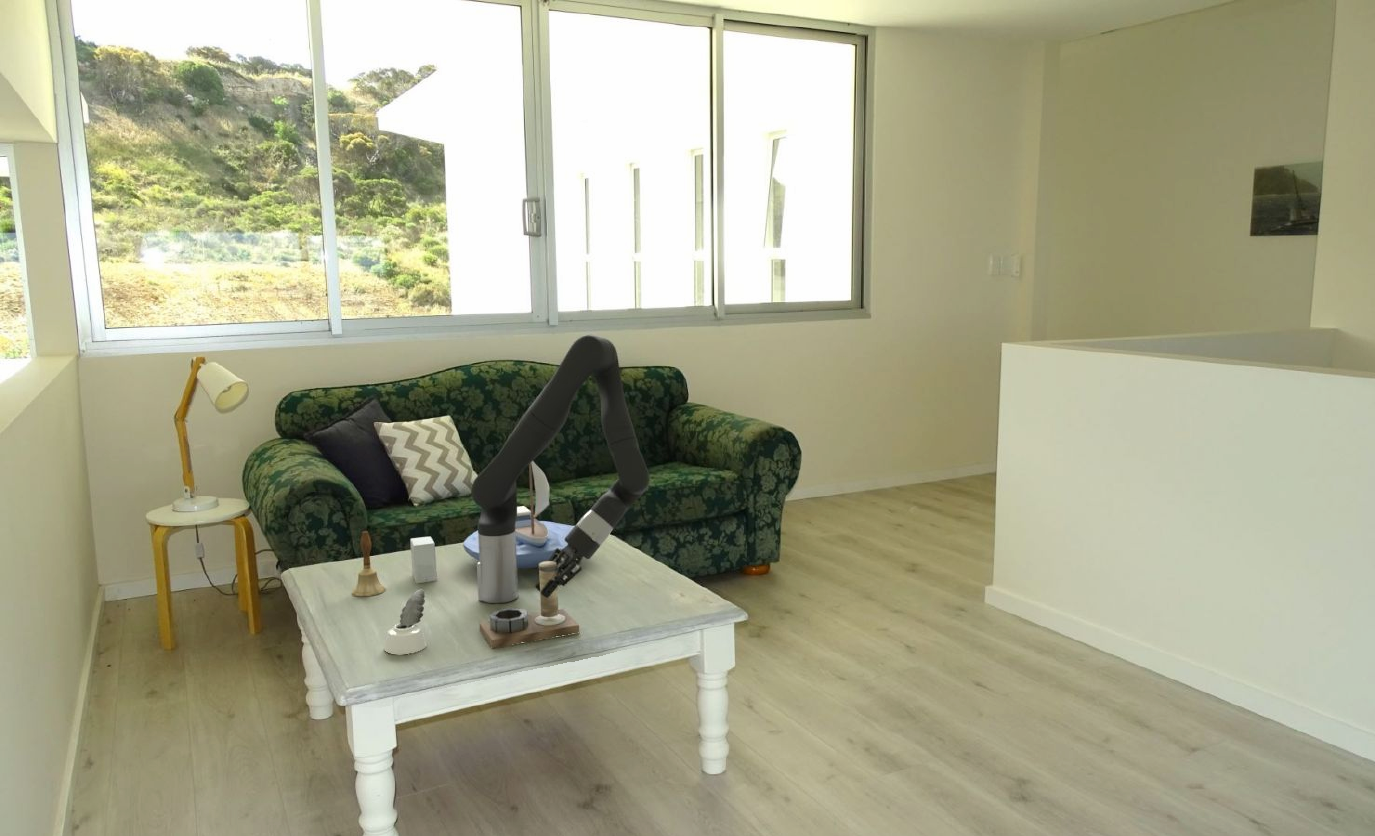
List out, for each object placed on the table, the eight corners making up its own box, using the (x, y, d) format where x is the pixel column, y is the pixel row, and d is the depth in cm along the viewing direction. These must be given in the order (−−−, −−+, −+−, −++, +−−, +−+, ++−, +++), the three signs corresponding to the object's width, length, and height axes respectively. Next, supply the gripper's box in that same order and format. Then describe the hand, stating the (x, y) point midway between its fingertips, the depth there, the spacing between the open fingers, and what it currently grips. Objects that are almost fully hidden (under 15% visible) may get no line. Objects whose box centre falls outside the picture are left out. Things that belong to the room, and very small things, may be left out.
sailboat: (480, 589, 255) (474, 467, 250) (452, 555, 287) (446, 446, 282) (605, 570, 270) (601, 454, 265) (565, 539, 301) (561, 435, 296)
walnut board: (492, 648, 215) (491, 640, 215) (479, 630, 226) (479, 622, 226) (579, 633, 223) (579, 624, 223) (563, 616, 234) (562, 608, 234)
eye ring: (486, 632, 219) (485, 619, 219) (498, 620, 227) (498, 607, 226) (520, 634, 218) (520, 621, 217) (532, 621, 226) (531, 609, 225)
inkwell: (378, 655, 212) (374, 611, 211) (403, 625, 230) (400, 584, 229) (420, 655, 212) (417, 611, 211) (442, 625, 230) (440, 584, 228)
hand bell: (349, 589, 257) (345, 530, 255) (382, 584, 261) (378, 526, 258) (354, 598, 250) (350, 538, 247) (388, 593, 253) (384, 533, 251)
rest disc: (530, 624, 223) (530, 623, 223) (540, 614, 230) (540, 613, 230) (560, 626, 222) (560, 625, 222) (568, 615, 229) (568, 614, 229)
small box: (437, 581, 263) (435, 543, 261) (415, 584, 261) (413, 545, 259) (433, 572, 270) (431, 535, 268) (412, 575, 268) (410, 538, 266)
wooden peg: (538, 616, 224) (536, 566, 223) (544, 610, 228) (541, 560, 227) (555, 617, 224) (553, 566, 222) (561, 611, 228) (559, 561, 226)
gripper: (568, 517, 232) (520, 574, 229) (587, 531, 220) (537, 592, 217) (590, 536, 235) (543, 592, 232) (610, 551, 223) (561, 611, 220)
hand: (540, 592), depth 224 cm, fingers closed on wooden peg, 4 cm apart
